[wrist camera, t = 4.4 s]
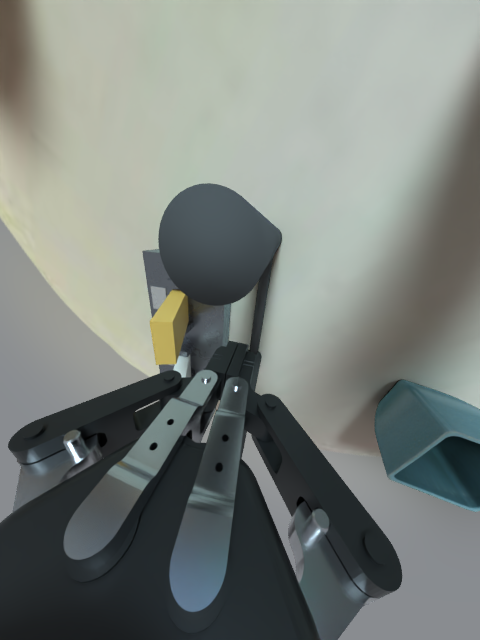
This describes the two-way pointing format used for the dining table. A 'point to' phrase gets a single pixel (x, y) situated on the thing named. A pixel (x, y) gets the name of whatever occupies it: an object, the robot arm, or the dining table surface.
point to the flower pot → (431, 443)
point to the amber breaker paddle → (170, 327)
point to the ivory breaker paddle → (183, 366)
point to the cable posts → (219, 252)
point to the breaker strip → (204, 320)
